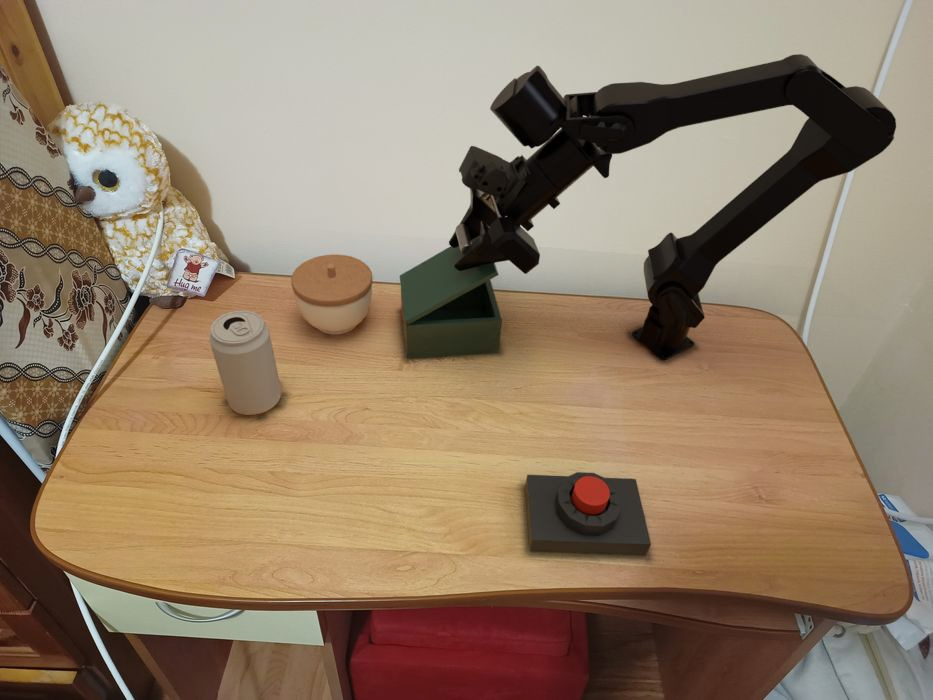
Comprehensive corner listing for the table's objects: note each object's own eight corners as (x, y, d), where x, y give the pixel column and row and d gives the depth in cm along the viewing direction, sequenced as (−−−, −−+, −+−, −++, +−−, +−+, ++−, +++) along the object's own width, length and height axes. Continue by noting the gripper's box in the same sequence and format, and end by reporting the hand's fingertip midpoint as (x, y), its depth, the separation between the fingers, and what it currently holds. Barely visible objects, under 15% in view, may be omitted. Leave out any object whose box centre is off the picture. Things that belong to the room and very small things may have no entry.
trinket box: (307, 295, 93) (299, 241, 87) (379, 299, 93) (376, 246, 87) (290, 343, 85) (280, 287, 79) (369, 348, 85) (365, 293, 79)
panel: (631, 490, 70) (639, 468, 67) (645, 555, 64) (655, 534, 62) (524, 486, 70) (529, 464, 67) (529, 551, 64) (534, 530, 61)
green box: (486, 307, 93) (489, 275, 89) (498, 353, 86) (502, 320, 82) (401, 311, 91) (400, 279, 88) (406, 358, 84) (406, 325, 80)
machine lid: (485, 231, 84) (468, 206, 81) (499, 275, 77) (481, 249, 74) (402, 278, 87) (383, 256, 85) (407, 325, 80) (387, 302, 77)
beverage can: (264, 373, 81) (248, 300, 72) (292, 401, 77) (278, 327, 69) (218, 397, 77) (195, 323, 69) (246, 427, 74) (225, 353, 66)
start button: (603, 486, 66) (607, 476, 65) (609, 516, 63) (612, 506, 62) (569, 485, 66) (572, 475, 65) (573, 514, 63) (576, 504, 62)
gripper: (489, 96, 76) (402, 182, 82) (521, 166, 63) (414, 263, 69) (544, 155, 83) (460, 231, 89) (584, 230, 69) (481, 314, 75)
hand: (453, 256), depth 80 cm, fingers closed on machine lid, 5 cm apart
